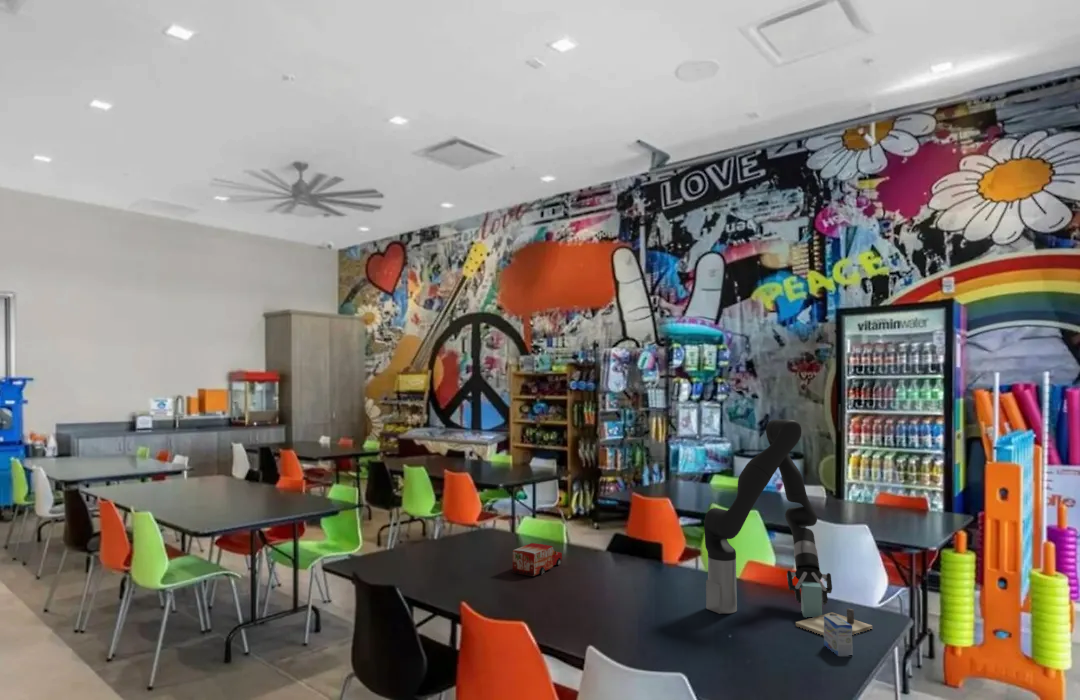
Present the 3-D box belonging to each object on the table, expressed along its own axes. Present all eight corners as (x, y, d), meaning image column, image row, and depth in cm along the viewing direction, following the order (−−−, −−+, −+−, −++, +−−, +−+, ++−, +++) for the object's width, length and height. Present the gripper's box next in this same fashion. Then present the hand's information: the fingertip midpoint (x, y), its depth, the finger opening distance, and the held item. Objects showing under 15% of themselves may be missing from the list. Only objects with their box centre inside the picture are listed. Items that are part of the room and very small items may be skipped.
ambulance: (565, 564, 281) (565, 540, 281) (534, 579, 260) (534, 553, 260) (543, 561, 286) (543, 537, 287) (511, 575, 265) (511, 549, 266)
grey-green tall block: (822, 618, 215) (821, 587, 216) (803, 617, 217) (803, 585, 217) (819, 612, 221) (818, 582, 221) (801, 611, 222) (800, 581, 223)
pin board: (835, 640, 197) (835, 622, 197) (795, 626, 209) (795, 609, 209) (872, 629, 206) (871, 612, 206) (832, 615, 218) (831, 599, 218)
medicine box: (823, 645, 193) (822, 615, 193) (838, 645, 193) (837, 615, 194) (838, 657, 185) (837, 625, 186) (853, 656, 186) (852, 624, 186)
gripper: (784, 550, 229) (789, 595, 217) (829, 552, 225) (837, 598, 213) (783, 562, 234) (788, 606, 222) (827, 564, 230) (834, 610, 218)
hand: (812, 602), depth 217 cm, fingers open, 7 cm apart
